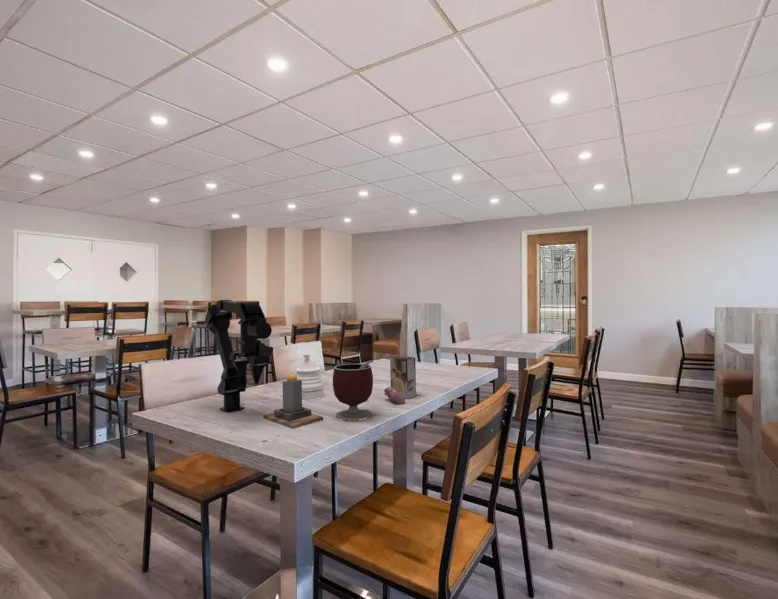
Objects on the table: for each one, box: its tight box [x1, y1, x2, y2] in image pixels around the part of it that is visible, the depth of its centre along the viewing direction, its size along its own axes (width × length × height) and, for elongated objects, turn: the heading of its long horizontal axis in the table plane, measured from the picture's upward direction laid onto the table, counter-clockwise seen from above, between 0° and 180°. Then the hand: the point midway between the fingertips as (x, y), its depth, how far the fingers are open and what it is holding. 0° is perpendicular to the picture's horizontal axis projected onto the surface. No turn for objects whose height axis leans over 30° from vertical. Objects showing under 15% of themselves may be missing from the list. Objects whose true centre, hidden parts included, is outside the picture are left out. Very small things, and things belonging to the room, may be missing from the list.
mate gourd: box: [332, 359, 374, 421], centre depth 141 cm, size 16×14×20 cm
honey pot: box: [295, 353, 325, 401], centre depth 170 cm, size 13×13×18 cm
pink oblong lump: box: [383, 386, 406, 405], centre depth 159 cm, size 10×5×7 cm, turn 22°
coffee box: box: [389, 355, 417, 400], centre depth 168 cm, size 9×6×16 cm
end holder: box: [262, 406, 324, 429], centre depth 139 cm, size 18×12×3 cm, turn 47°
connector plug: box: [282, 373, 303, 414], centre depth 139 cm, size 4×4×14 cm
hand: (250, 382), depth 143 cm, fingers open, 9 cm apart
